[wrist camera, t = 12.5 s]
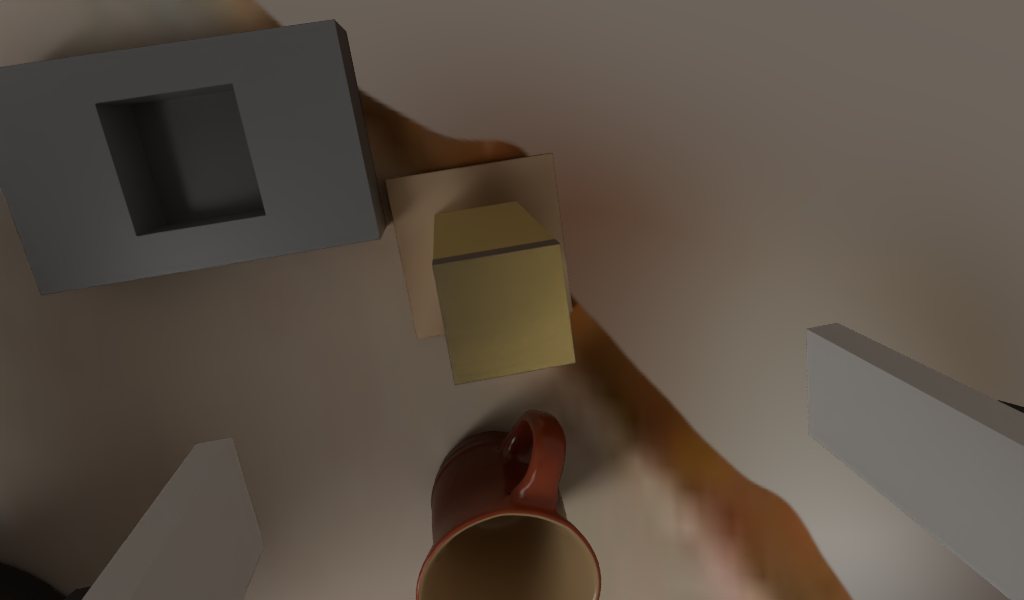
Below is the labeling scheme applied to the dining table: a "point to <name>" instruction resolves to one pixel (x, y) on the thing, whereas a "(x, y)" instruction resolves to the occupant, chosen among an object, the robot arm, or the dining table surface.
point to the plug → (500, 293)
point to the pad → (461, 191)
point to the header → (186, 155)
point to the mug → (506, 521)
